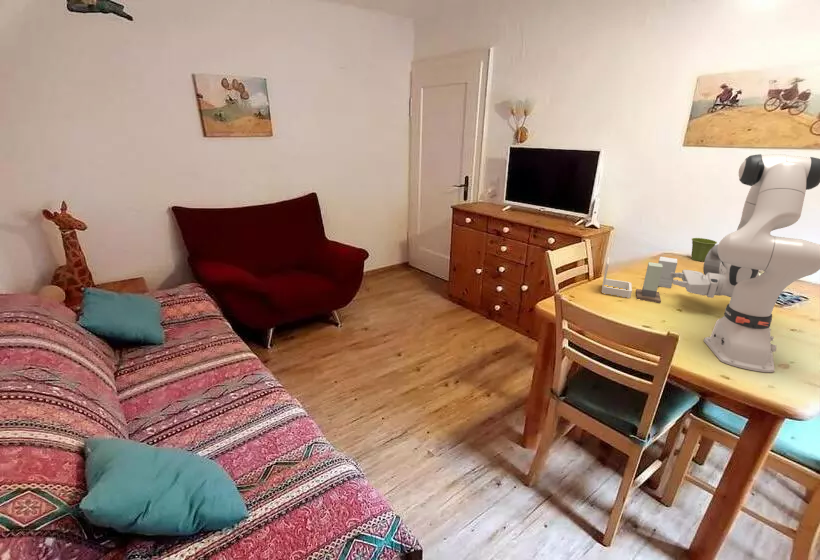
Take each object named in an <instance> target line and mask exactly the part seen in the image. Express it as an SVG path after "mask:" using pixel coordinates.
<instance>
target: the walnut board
mask: <svg viewBox="0 0 820 560" xmlns="http://www.w3.org/2000/svg"><path fill="white" fill-rule="evenodd" d="M635 293H636V294H635V295H637V297H636V300H637V299H640V300H639V301H643V300H645V301H644V302H650V303H651V302H652V303H655V304H656V303H657V304H661V303H662V299H661V295H660V292H659V291H657V293H656V297H655V298H653V297H647V296H642V288H641V289H639V288H636V290H635Z"/></svg>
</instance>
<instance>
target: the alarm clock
mask: <svg viewBox="0 0 820 560" xmlns="http://www.w3.org/2000/svg"><path fill="white" fill-rule="evenodd" d="M718 245H719V243H717V244H715V246H714V247H712V249H711V250H710V251H709V252H708V254H707V256H706V258H705V261H704V262H703V268H702V269H703V271H702V272H703V274H704V275H706V274H707V273H716V274H725V273H726V271H727V270H726V268H725V267H724V266H723V264H722V262H721V260H720V258H719V256H718V253H717V248H718Z"/></svg>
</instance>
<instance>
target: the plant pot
mask: <svg viewBox="0 0 820 560" xmlns="http://www.w3.org/2000/svg"><path fill="white" fill-rule="evenodd" d="M691 244H692V245H691V246H692V247H691V257H690V259H691V260H693V261H697V262H703V263H704V261H705V258H706V256H707V254H708V252H709V251H710V250H711V249H712V247H714V246H715V245H718V242H717V241H716V240H712V239H708V238H702V237H692V238H691Z"/></svg>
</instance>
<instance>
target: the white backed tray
mask: <svg viewBox="0 0 820 560" xmlns="http://www.w3.org/2000/svg"><path fill="white" fill-rule="evenodd" d="M609 265H610V257H609V256H608V257H607V259H606V265H605V269H604V274H603V281H602V285H601V286H602V287H601V292H602V293H605V294H604V295H606V294H611V295H610V296H612V295H617V296H616V297H619V296H622V297H621V298H625V297H627V298H626V299H630V298H631V297H632V292H633V289H632V288H633V284H632V282H629V281H625V280H620V279H619V280H618V279H613V278H612V279H611V278H607V274H608V269H609ZM604 285H608V286H613V287H618V288H613V287H607V286H604ZM619 288H623V289H619ZM626 289H628V290H626Z"/></svg>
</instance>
